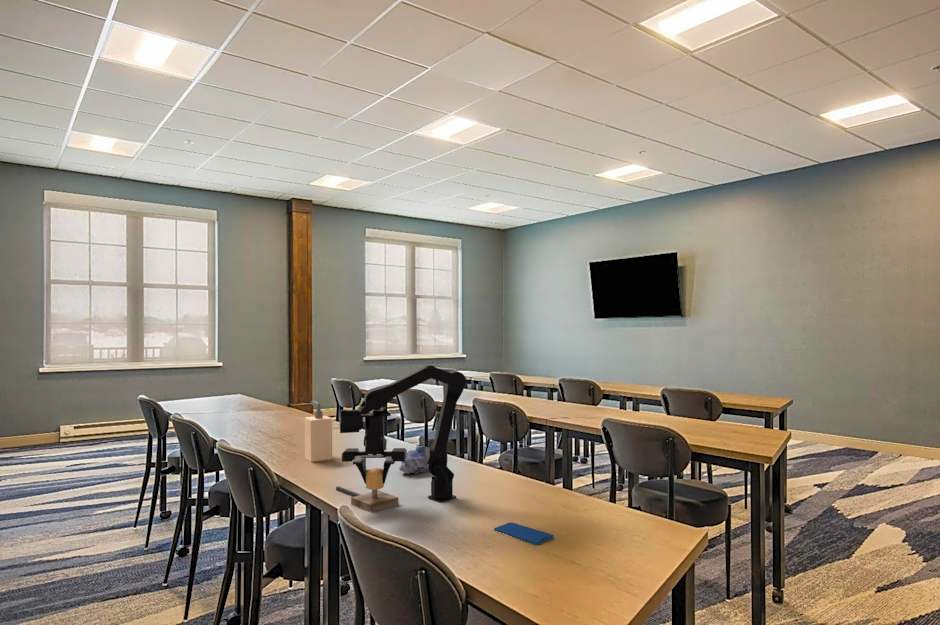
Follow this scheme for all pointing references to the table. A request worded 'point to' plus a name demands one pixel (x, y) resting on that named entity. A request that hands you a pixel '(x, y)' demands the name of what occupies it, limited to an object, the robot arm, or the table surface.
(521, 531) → the smartphone
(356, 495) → the bar
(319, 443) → the soap dispenser
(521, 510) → the table surface
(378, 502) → the peg block
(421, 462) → the mineral
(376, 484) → the orange domed octagonal post
